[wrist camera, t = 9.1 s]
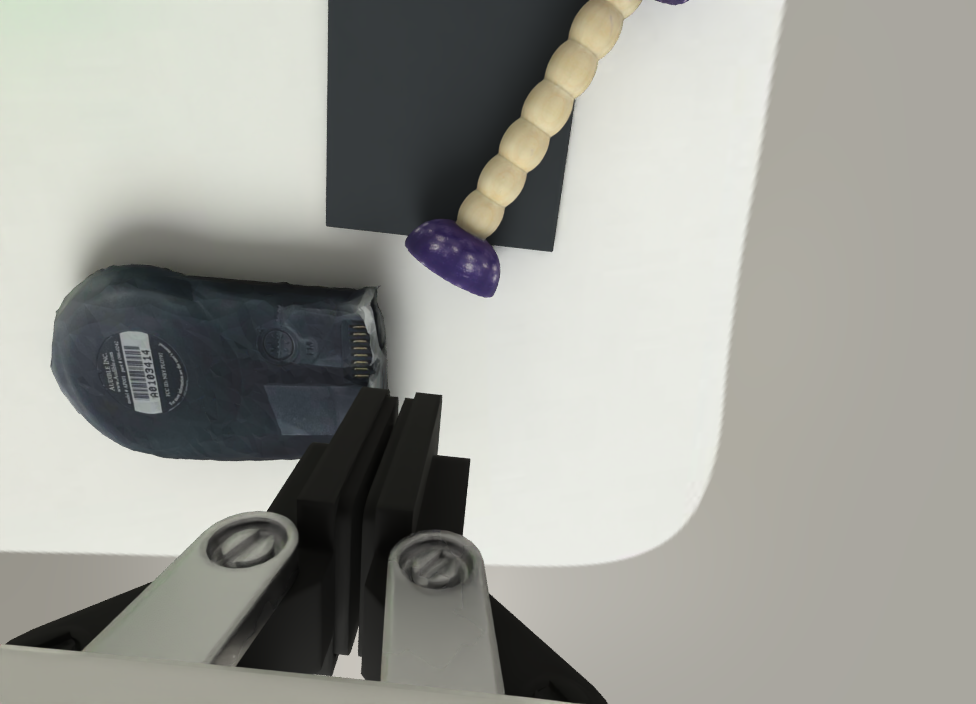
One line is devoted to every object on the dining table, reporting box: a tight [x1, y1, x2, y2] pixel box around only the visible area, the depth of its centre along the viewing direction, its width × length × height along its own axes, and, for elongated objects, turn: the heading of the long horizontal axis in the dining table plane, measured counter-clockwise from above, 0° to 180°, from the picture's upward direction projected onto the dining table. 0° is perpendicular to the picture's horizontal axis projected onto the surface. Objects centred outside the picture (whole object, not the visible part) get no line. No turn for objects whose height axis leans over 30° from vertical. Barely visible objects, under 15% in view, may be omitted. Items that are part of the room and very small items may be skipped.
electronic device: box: [51, 264, 388, 461], centre depth 25 cm, size 9×6×15 cm
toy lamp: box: [405, 0, 689, 297], centre depth 20 cm, size 5×5×17 cm
